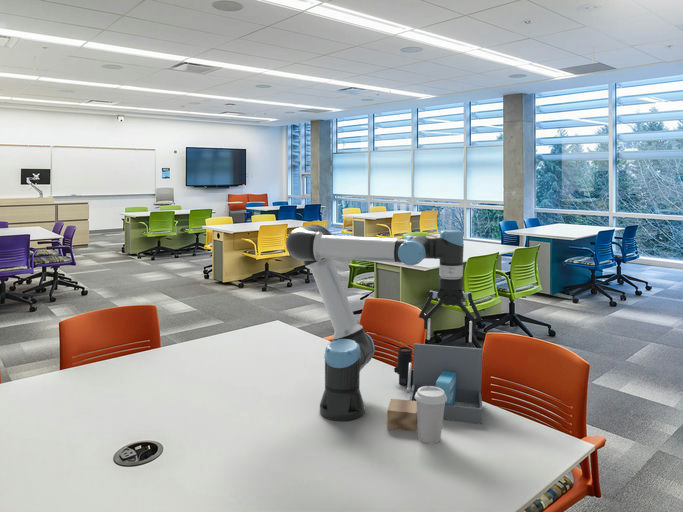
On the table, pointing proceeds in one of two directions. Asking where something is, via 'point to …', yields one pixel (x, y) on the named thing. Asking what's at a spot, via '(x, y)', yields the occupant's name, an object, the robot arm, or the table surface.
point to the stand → (402, 415)
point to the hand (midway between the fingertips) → (449, 339)
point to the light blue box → (448, 386)
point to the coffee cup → (430, 413)
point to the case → (468, 377)
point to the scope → (404, 365)
